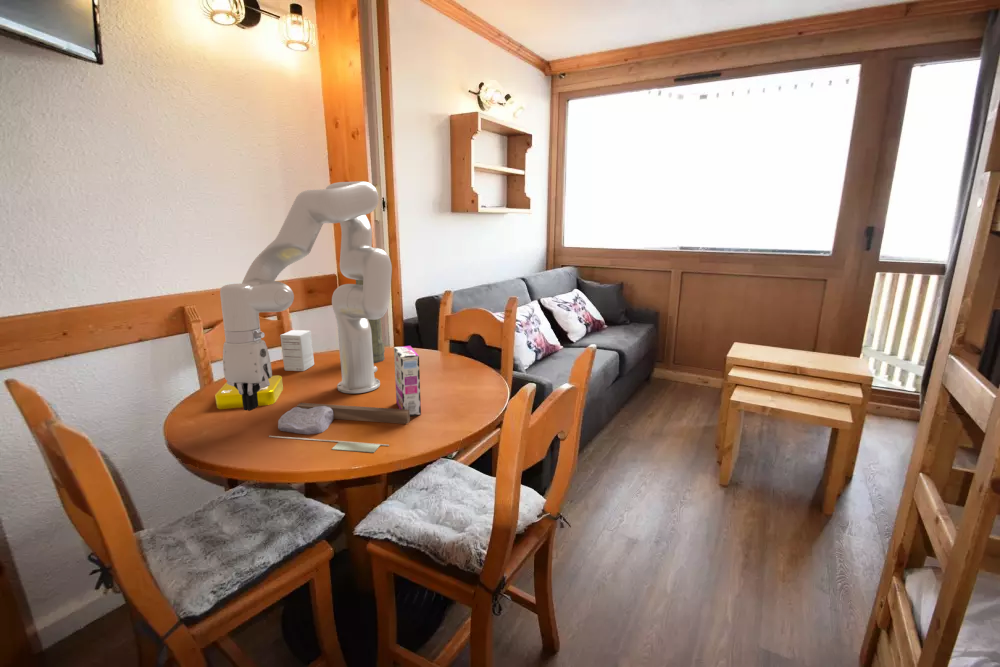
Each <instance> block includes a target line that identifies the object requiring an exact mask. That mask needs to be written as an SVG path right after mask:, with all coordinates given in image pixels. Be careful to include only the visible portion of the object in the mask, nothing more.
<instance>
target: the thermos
mask: <svg viewBox="0 0 1000 667" xmlns="http://www.w3.org/2000/svg"><path fill="white" fill-rule="evenodd" d="M355 284H357V285H363V280H355ZM368 321H369V324H370V327H371V333H372V349H373V363H374V364H377V363H380V362H383V361H385V359H386V358H385V351H386V350H385V343H384V340H383V330H382V329H383V328H382V318H380V319H376V320H370V319H368Z"/></svg>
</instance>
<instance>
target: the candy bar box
mask: <svg viewBox="0 0 1000 667" xmlns="http://www.w3.org/2000/svg"><path fill="white" fill-rule="evenodd" d="M393 353H394V355H393V356H394V375H395V380H394V381H395V399H396V405H397V406H398V409H407V410H409V412H410V417H414V416H415V417H416V416H420V415H422V408H421V407H422V404H421V400H422V399H421V379H420V375H421V372H420V354H418V353H417V352H416V351H415V349H414V348H413V347H412V346H411V345H404V346H395V347H393Z"/></svg>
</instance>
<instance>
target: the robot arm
mask: <svg viewBox="0 0 1000 667" xmlns="http://www.w3.org/2000/svg"><path fill="white" fill-rule="evenodd" d="M379 199H380V196H379V192H378V190H377V188H376V187H375V186H374V185H373V184H372V183H370V182H368V181H365V180H364V181H363V180H361V181H360V180H359V181H357V180H356V181H339V182H333V183H331V184H329V185H327V186H326V188H324V189H320V188H319V189H308V190H304V191H301V192H299V193H298V195H297V196H296V197H295V199H294V201H293V203H292V205H291V207H290V208H289V211H288V213H287V215H286V216H285V217H286V218H285V219H284V221H283V224H282V225H281V227H280V230H279V232H278V234H277V235H276V237H275V239H274V240H272V241H271V242H270V243H269V244H268V245H267V246H266V247H265V248H264V249H263V250H262V251H260V253H259V254H258V255H257V257H255V259H254V260H253V261H252V262H251V265H250V266H249V267H248V270H247V271H246V274H245V275H244V278H243V280H242V282H241V283H231V284H230V283H229V284H225V285H222V286H221V287H220V290H219V294H220V302H221V303H220V304H221V313H222V320H223V330H224V337H225V338H224V339H225V341H224V343H223V345H222V346H223V348H222V369H223V376H224V379H225V381H226V382H227V384H228V385H231V386H235V388H236V389H237V390H238V391H239V394H240V395H242V401H243V407H242V408H243V411H249V412H251V411H253V410H255V409H256V408H258V407H259V406H258V397H257V392H258V391H259V390H260V389H261V388H265V387H267V386H269V385H270V383H269V380H268V379H269V378H271V377H272V376H273V369H272V363H271V359H270V358H271V357H270V352H269V350H268V346H267V343H266V342H265V339H263V338H265V332H263V331H262V330H261V325H260V323H261V322H260V313H280V312H283V311H286V310H287V309H288V308H290V307H291V306H292V304H293V303H294V300H295V299H294V298H295V294H294V291H293V290H292V288H291V287H290V286H289V285H287V284H285V283H284V282H281V281H276V279H277V277H278V276H279V275H280V274H281V273H282V272H283V271H284V269H286V268H287V267H289V266H290V265H292V264H293V263H296V262H298V261H300V260H302V259H304V258H305V257H307V256H308V255H309V254H310V253H311V251H312V248H313V247H314V244H315V243H316V241H317V238H318V236H319V233H320V231H321V230H322V227H323V225H324V224H338V223H339V224H340V229H341V239H340V240H341V241H340V257H339V270H340V272H341V274H342V276H344V277H345V278H347V279H350V280H355V281H356V280H363V285H357V284H356V283H345V284H341V285H339V286H338V287H337V288H336V289H334V291H333V293H332V296H331V306H332V310H333V314H334V316H335V320H336V326H337V335H338V348H339V360H340V369H341V370H340V371H341V372H340V373H341V381H339V382H338V383H337V385H336V388H337V391H338V392H340V393H343V394H351V395H352V394H362V393H363V394H364V393H368V392H372V391H375V390H376V389H378V388H380V385H381V381H380V379H378V378H377V377H375V373H376V372H377V371H378V367H377V366H376V365H375V363H373V349H372V333H371V327H370V324H369V321H368V319H370V320H376V319H380V318H381V319H382V318H383V317H384V316H385V314H386V313H387V311H388V309H389V305H390V299H391V298H390V297H391V296H390V295H391V286H392V273H393V265H392V262H391V261H392V260H391V258H390V256H389V255H388V253H387V252H386V251H385V250H384V249H382V248H379V247H372V246H373V244H372V243H373V229H372V225H371V222H370V220H369V218H368V216H367V215H368V214H372V212H374V211H375V210H376V208H377V207H378V204H379Z"/></svg>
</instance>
